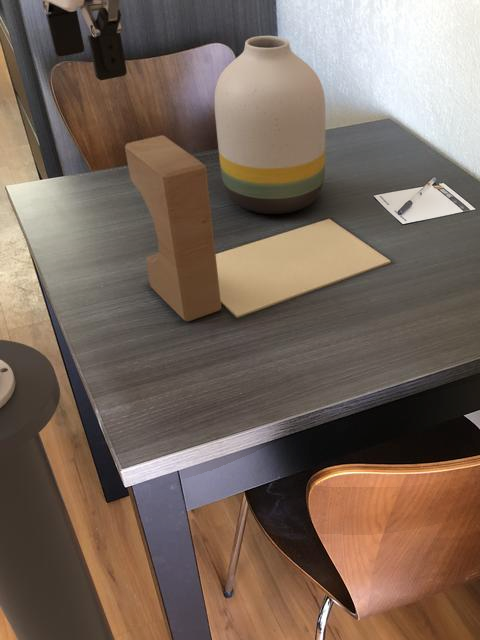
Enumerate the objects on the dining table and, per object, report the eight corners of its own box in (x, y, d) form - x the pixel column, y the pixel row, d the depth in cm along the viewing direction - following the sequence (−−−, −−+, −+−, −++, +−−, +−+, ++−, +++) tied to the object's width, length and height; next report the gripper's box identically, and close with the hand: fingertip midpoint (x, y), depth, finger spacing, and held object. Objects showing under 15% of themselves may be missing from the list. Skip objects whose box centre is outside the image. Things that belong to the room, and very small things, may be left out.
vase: (249, 172, 130) (238, 20, 113) (338, 187, 126) (341, 32, 109) (206, 214, 118) (187, 51, 102) (303, 231, 114) (300, 65, 98)
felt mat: (236, 318, 97) (236, 315, 97) (182, 266, 106) (182, 264, 106) (390, 263, 108) (390, 260, 108) (329, 220, 117) (329, 218, 117)
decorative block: (149, 287, 102) (122, 142, 88) (186, 275, 104) (165, 133, 91) (184, 324, 96) (161, 175, 82) (223, 311, 98) (207, 164, 84)
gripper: (-29, -150, 68) (23, 51, 80) (49, -130, 59) (94, 95, 71) (48, -153, 72) (87, 40, 84) (133, -135, 62) (162, 80, 74)
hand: (90, 65), depth 77 cm, fingers open, 9 cm apart
